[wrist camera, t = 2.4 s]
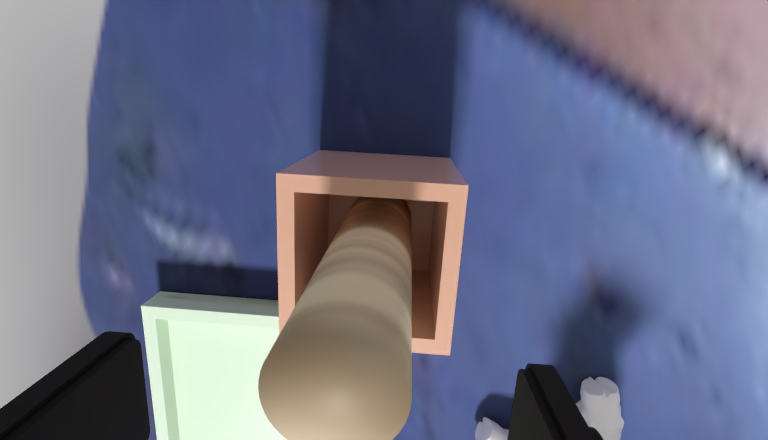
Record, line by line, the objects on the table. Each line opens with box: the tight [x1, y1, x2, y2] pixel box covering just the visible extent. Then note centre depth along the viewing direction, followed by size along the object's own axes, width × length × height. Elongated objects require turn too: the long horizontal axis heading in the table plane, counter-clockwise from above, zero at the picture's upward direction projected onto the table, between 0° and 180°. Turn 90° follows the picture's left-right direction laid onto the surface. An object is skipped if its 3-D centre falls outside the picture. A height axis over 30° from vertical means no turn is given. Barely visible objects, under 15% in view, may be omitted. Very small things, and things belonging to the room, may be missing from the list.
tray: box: [141, 291, 287, 440], centre depth 28 cm, size 16×12×2 cm
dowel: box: [258, 196, 412, 440], centre depth 17 cm, size 4×4×15 cm
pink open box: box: [276, 150, 469, 355], centre depth 21 cm, size 7×7×8 cm
